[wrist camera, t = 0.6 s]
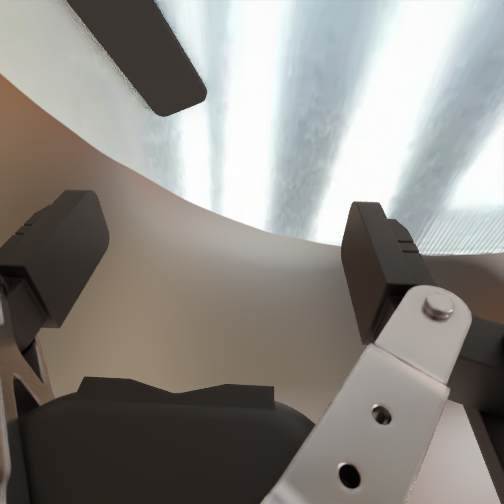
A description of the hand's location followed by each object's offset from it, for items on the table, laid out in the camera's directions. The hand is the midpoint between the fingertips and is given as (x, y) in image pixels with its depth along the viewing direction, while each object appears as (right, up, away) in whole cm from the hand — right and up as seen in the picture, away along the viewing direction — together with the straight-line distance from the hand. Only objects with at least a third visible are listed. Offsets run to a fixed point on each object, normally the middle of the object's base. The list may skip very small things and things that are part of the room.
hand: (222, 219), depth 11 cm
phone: (-10, +21, +24) cm, 33 cm away
